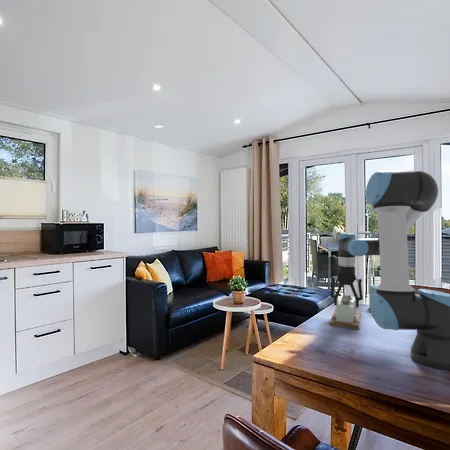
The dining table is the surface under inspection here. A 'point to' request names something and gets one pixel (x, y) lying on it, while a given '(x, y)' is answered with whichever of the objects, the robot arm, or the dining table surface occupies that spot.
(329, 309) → the dining table surface
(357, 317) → the board
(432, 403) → the dining table surface
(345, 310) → the two-pocket foam insert
